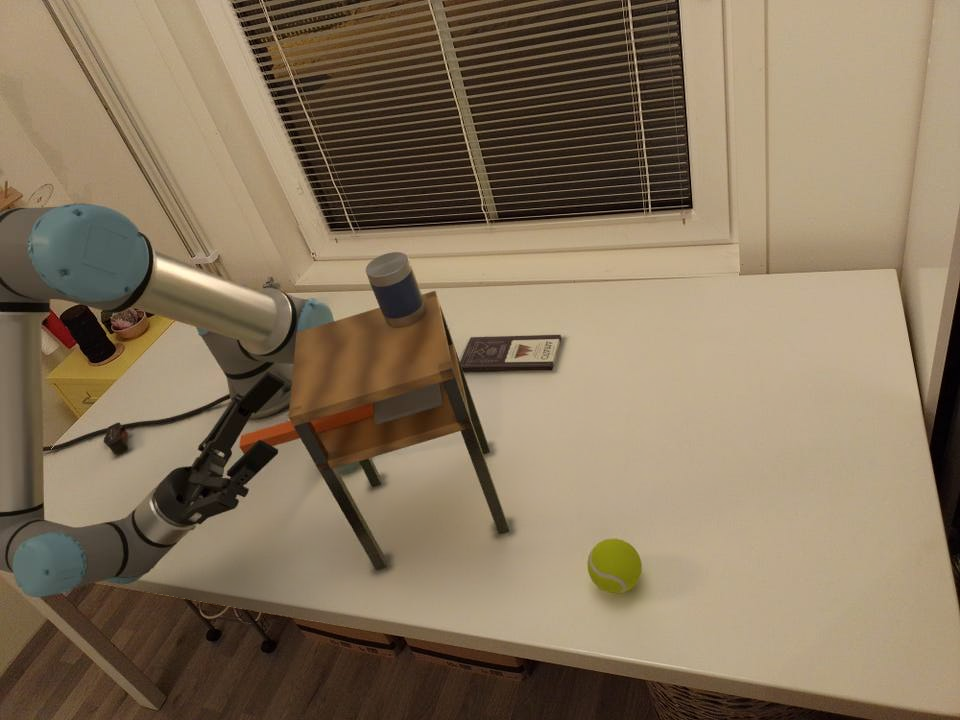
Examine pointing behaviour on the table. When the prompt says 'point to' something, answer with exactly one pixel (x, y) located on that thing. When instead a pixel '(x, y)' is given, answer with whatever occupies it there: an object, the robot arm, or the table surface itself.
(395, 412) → the spatula
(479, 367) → the chocolate bar
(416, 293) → the tin can
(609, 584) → the tennis ball
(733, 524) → the table surface
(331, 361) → the side table
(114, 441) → the dark brown lumpy chunk
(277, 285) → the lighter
